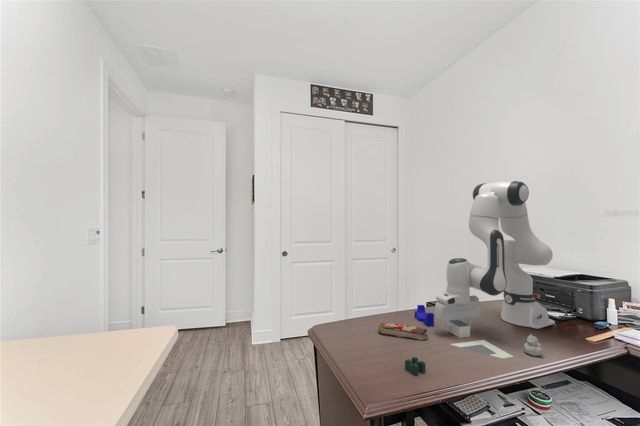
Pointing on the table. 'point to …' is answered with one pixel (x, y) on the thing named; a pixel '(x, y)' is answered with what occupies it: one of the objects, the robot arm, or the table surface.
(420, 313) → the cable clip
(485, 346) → the mat
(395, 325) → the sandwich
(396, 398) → the table surface
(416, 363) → the mount
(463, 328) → the card deck
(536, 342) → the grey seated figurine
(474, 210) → the robot arm
